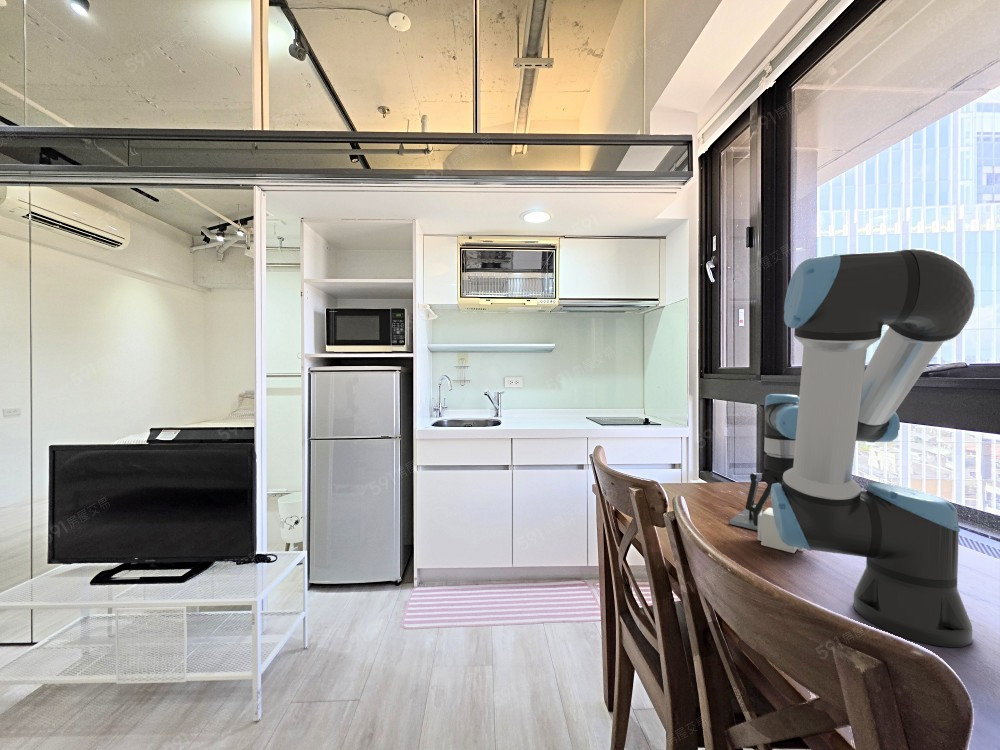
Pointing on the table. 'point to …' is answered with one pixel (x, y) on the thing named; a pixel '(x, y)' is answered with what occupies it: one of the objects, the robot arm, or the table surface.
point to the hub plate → (744, 519)
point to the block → (772, 533)
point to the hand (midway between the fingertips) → (780, 543)
